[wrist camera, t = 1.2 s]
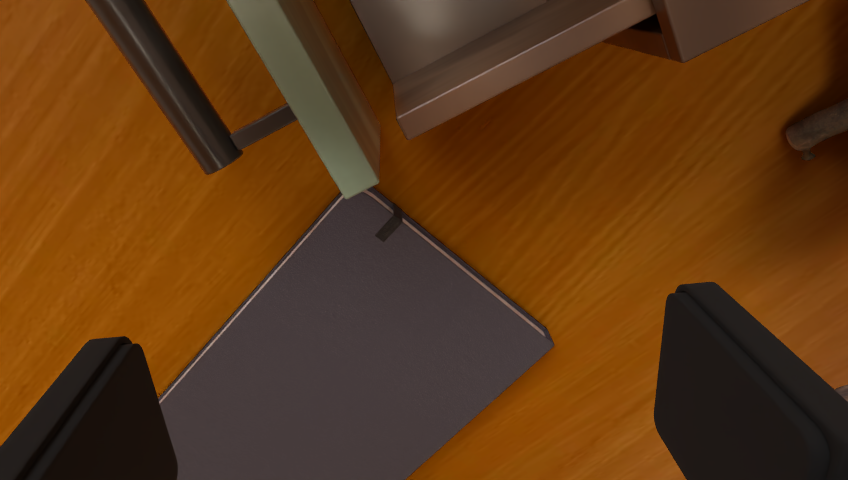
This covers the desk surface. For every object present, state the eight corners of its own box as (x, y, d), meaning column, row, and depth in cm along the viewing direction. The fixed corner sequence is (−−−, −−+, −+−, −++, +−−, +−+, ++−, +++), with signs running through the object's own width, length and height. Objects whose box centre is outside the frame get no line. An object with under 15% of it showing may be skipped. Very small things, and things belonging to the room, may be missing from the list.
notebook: (294, 558, 36) (547, 328, 31) (291, 582, 35) (555, 345, 29) (105, 457, 32) (357, 173, 27) (92, 480, 31) (355, 183, 25)
